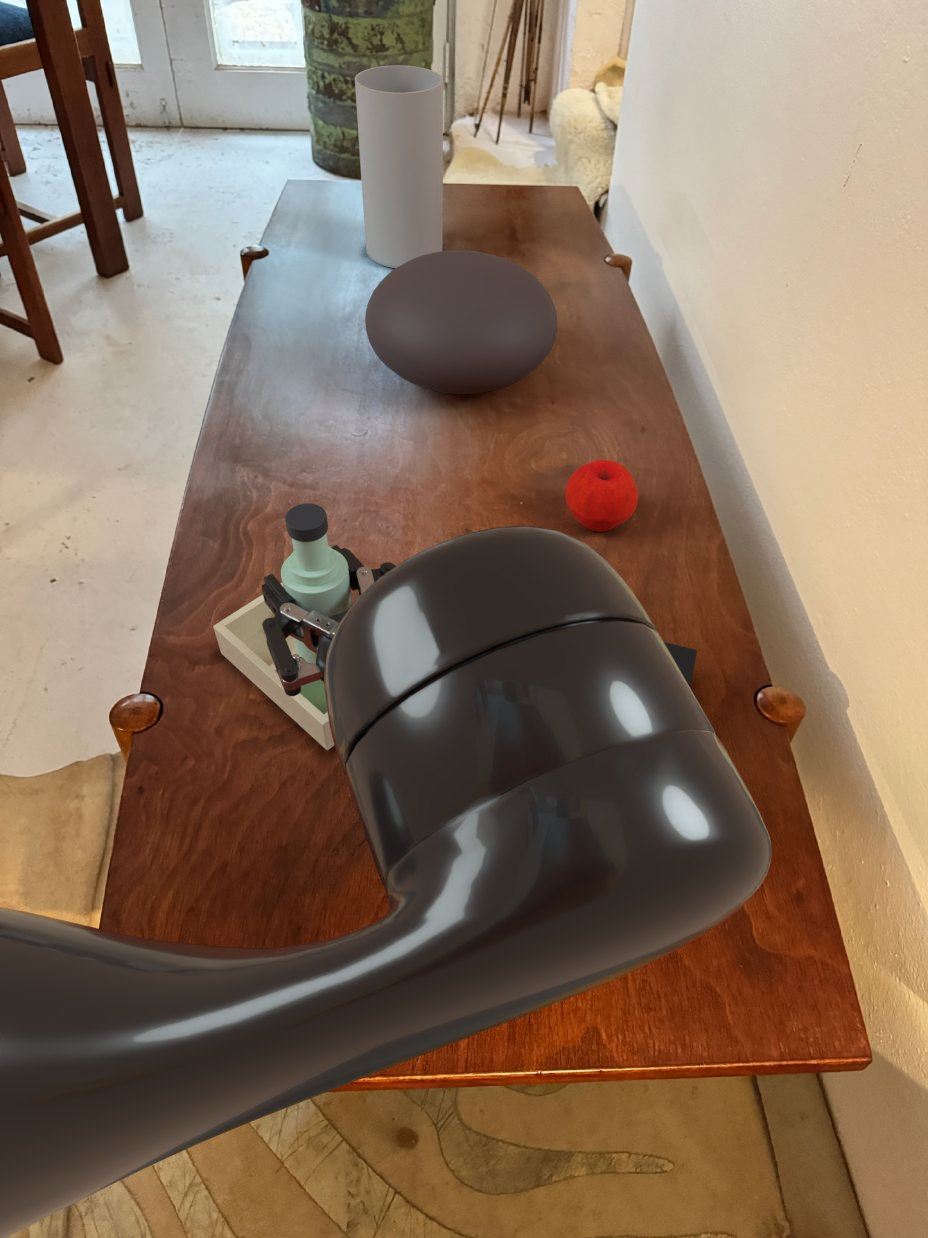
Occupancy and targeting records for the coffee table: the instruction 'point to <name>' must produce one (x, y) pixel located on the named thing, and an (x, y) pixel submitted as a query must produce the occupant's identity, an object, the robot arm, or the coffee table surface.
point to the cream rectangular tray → (272, 668)
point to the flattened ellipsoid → (461, 322)
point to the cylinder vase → (401, 161)
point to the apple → (601, 495)
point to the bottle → (314, 568)
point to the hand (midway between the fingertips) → (301, 568)
